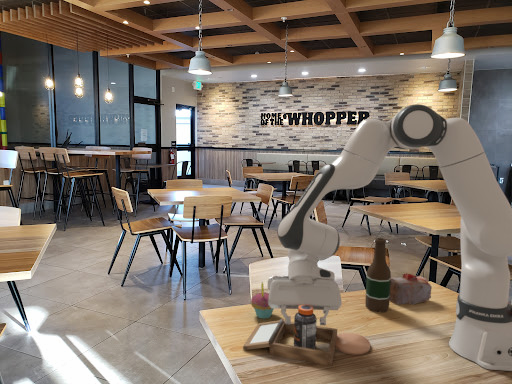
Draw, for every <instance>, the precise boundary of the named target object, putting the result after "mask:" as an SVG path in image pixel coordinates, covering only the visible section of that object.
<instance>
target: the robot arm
mask: <svg viewBox="0 0 512 384" xmlns="http://www.w3.org/2000/svg"><path fill="white" fill-rule="evenodd" d="M422 147H423V148H425V147H426V148H427V149H428V150H430V151H431V153H432V154H433V156H434V157H435V161H436V162H437V166H438V167H439V168H438V169H439V171H440V172H441V175H442V178H443V180H444V184H445V185H446V188H447V190H448V193H449V195H450V197H451V199H452V201H453V203H454V205H455V207H456V209H457V210H458V213H459V215H460V221H459V222H460V223H459V225H460V260H461V271H460V274H461V275H460V285H459V294H458V295H457V300H456V304H455V305H456V306H455V316H456V320H455V324H454V327H453V328H454V329H453V331H452V334H451V337H450V339H449V340H448V346H449V347H450V349H451V350H453V352H455V353H456V354H458V355H459V356H461V357H462V358H464V359H467V360H470V361H472V362H473V363H476V364H477V365H478V366H480V367H482V368H483V369H486V370H490V371H491V370H495V371H507V372H512V304H511V303H510V302H509V296H510V295H509V294H510V284H511V271H510V268H509V263H508V260H509V259H508V257H510V256H511V257H512V205H511V204H510V202H509V199H508V198H507V196H506V195H505V193H504V191H503V190H502V188H501V187H500V184H499V183H498V181H497V179H496V175H495V174H494V172H493V169H492V166H491V163H490V161H489V159H488V157H487V154H486V152H485V148H484V147H483V145H482V143H481V141H480V139H479V137H478V135H477V133H476V132H475V130H474V129H473V127H472V126H471V124H470V123H469V122H468V120H466V119H465V118H462V117H449V118H447V119H446V118H444V117H443V116H441V115H440V114H439V113H437V112H436V110H433V109H432V108H431V107H429V106H426V105H423V104H410V105H407V106H405V107H403V108H402V109H401V110H399V111H398V112H397V113H396V114H395V115H394V116H393V117H392V118H391V119H389V120H388V121H382V120H381V119H378V118H366V119H363V120H362V121H360V123H359V124H358V125H357V126H356V128H355V129H354V130H353V132H352V133H351V135H350V137H349V138H348V140H347V142H346V143H345V145H344V146H343V150H342V151H341V153H340V154H339V155H338V156H337V158H336V159H334V161H332V162H331V163H329V164H324V165H323V166H322V167H321V168H320V169H319V170H318V172H317V173H316V174H315V175H314V177H313V178H312V179H311V180H310V182H309V184H307V186H306V188H305V189H304V191H303V192H302V194H301V195H300V196H299V198H298V199H297V201H296V202H295V203H294V205H293V206H292V208H290V210H289V211H288V212H287V214H285V215H284V216H283V218H281V221H280V222H279V224H278V226H277V229H276V230H277V237H278V240H279V242H280V244H281V245H282V246H283V248H285V249H287V257H288V260H289V262H288V265H287V275H279V276H278V275H272V277H269V278H268V280H267V289H268V290H269V291H268V292H269V293H268V294H269V301H268V305H269V306H270V307H271V308H274V309H277V310H278V309H280V312H281V315H282V317H283V318H284V321H285V324H290V323H291V322H292V321H291V320H292V318H291V315H288V314H287V310H298V307H299V306H300V305H303V304H306V305H311V306H312V307H313V311H316V310H318V311H322V313H323V314H324V315H323V316H320V317H319V325H320V326H326V325H327V316H328V315H329V313H330V311H339V309H340V308H341V307H342V304H343V303H342V296H341V290H340V288H339V285H338V283H337V282H336V281H335V277H336V276H335V273H334V272H333V271H331V270H328V269H326V268H325V269H324V268H322V267H319V265H318V263H319V262H320V261H322V262H323V261H325V260H326V259H329V258H331V257H332V256H334V255H335V254H336V253H337V252H338V250H339V248H340V243H341V241H340V239H341V238H340V233H339V231H338V230H337V228H336V227H333V226H331V225H328V224H326V223H324V222H320V221H318V220H315V219H312V218H310V217H311V215H312V213H314V211H315V209H316V208H317V207H318V206H319V204H320V202H321V201H322V199H323V198H324V196H326V195H327V194H328V193H330V192H333V191H337V190H355V189H360V188H363V187H366V186H368V185H369V184H370V183H371V182H372V181H373V180H374V178H375V177H376V176H377V174H378V171H379V169H380V168H381V166H382V164H383V162H384V160H385V158H386V156H387V155H388V153H389V152H390V151H391V150H392V149H400V150H417V149H419V148H422Z"/></svg>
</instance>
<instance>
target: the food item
mask: <svg viewBox="0 0 512 384" xmlns="http://www.w3.org/2000/svg"><path fill="white" fill-rule="evenodd" d="M432 288H433V287H432V285H431V284H430V282H429V281H428V280H427V279H426V278H425V277H423V276H420V275H418V276H416V275H414V274H413V273H412V274H411V273H404V274H402V277H391V283H390V301H389V302H391V303H394V305H404V304H405V305H406V304H409V305H416V304H417V303H418V304H419V303H424V302H427V301H429V300H430V299H431V298H432Z"/></svg>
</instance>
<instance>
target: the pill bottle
mask: <svg viewBox="0 0 512 384" xmlns="http://www.w3.org/2000/svg"><path fill="white" fill-rule="evenodd" d="M293 322H294V334H293V346H298V347H304V348H309V349H315V350H316V345H317V344H316V343H317V338H316V326H317V316H316V315H315V313H314V310H313V307H312V306H311V305H306V304H303V305H300V306H299V307H298V309H297V312H296V313H295V315H294V321H293Z"/></svg>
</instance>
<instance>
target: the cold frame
mask: <svg viewBox="0 0 512 384" xmlns="http://www.w3.org/2000/svg"><path fill="white" fill-rule="evenodd" d="M279 320H280V321H279V323H278V325H277V326H276V328H275V330H274V332H273V334H272V335H271V337H270V339H269V341H268V342H269V343H270V347H269V355H270V356H274V357H281V358H286V359H291V360H296V361H297V360H298V361H304V362H308V363H315V364H319V365H325V366H330V367H332V365H333V361H334V357H335V356H334V354H335V351H336V348H335V344H336V339H337V334H338V328H333V327H327V326H322V325H320V326H319V325H316V339H318V338H319V339H324V340H328V341H329V340H330V342H329V348H328V350H327V351H325V350H321V349H316V348H315V349H309V348H304V347H298V346H294V345H290V344H285V343H280V342H281V340H282V339H283V336H284V335H285V333H287V334H293V335H294V321H291V323H290V324H285V320H284V319H283V318H280V319H279Z"/></svg>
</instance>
